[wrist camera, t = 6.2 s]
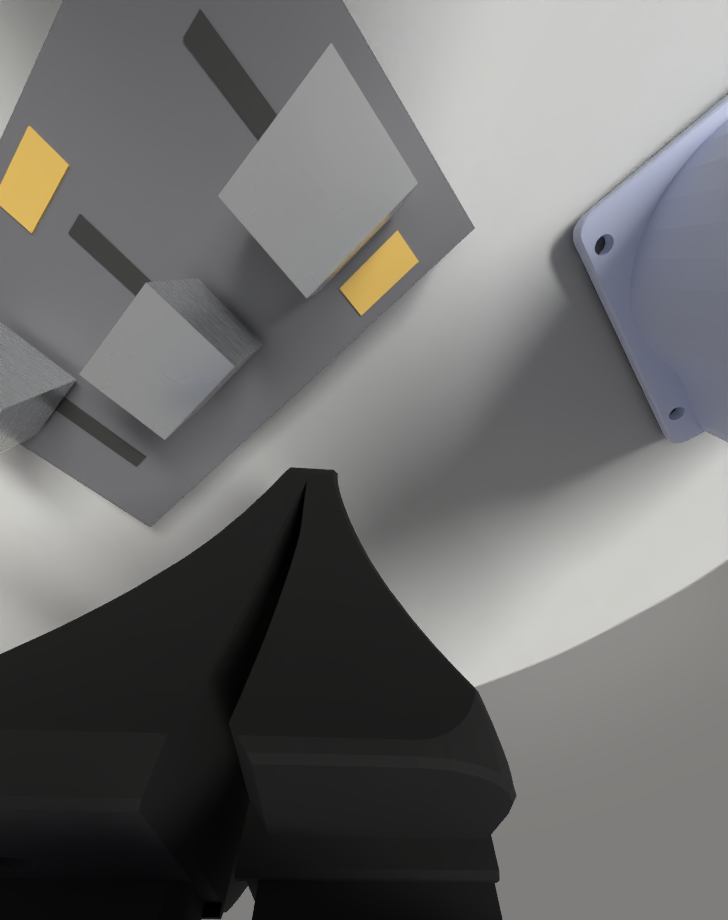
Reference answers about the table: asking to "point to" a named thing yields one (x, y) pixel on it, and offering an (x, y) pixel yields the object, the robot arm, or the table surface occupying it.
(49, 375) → the knob
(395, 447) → the table surface
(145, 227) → the switch panel
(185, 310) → the knob
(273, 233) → the knob
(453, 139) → the table surface
